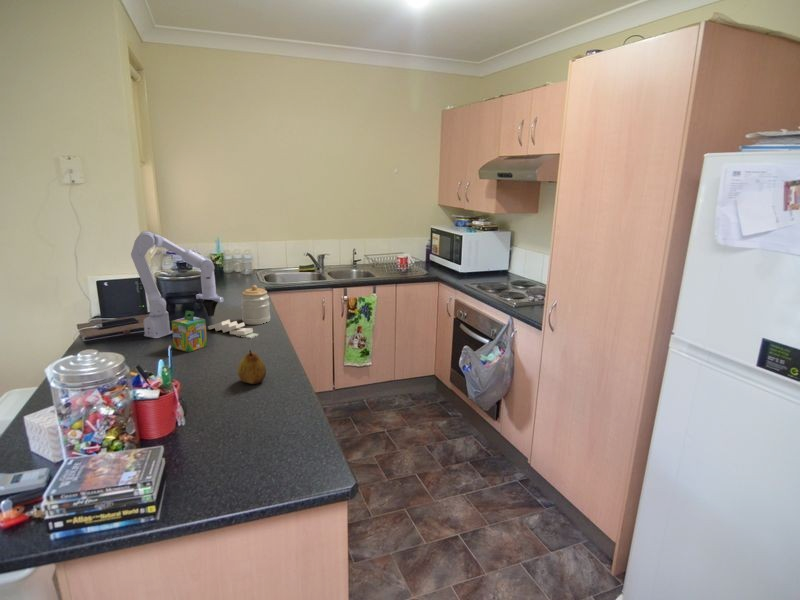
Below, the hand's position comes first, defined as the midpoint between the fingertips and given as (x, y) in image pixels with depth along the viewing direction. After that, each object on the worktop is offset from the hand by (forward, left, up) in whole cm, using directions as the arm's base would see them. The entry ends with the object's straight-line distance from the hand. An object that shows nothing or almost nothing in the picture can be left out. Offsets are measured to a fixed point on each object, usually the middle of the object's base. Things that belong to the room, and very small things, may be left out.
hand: (211, 315), depth 209 cm
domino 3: (0, -9, -5) cm, 10 cm away
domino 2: (0, -4, -5) cm, 7 cm away
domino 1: (0, 0, -5) cm, 5 cm away
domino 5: (0, -16, -6) cm, 17 cm away
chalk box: (-22, -12, -6) cm, 26 cm away
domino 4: (0, -13, -5) cm, 14 cm away
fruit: (-36, -57, -6) cm, 68 cm away
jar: (+18, -9, -6) cm, 21 cm away
